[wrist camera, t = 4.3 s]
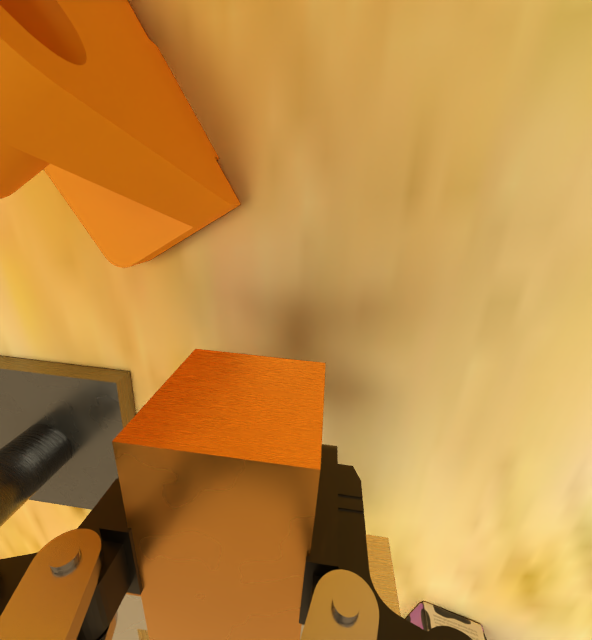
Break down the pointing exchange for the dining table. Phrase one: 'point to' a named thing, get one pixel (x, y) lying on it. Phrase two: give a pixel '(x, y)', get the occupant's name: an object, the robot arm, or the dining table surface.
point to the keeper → (59, 432)
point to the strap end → (227, 500)
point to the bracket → (104, 126)
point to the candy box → (444, 620)
